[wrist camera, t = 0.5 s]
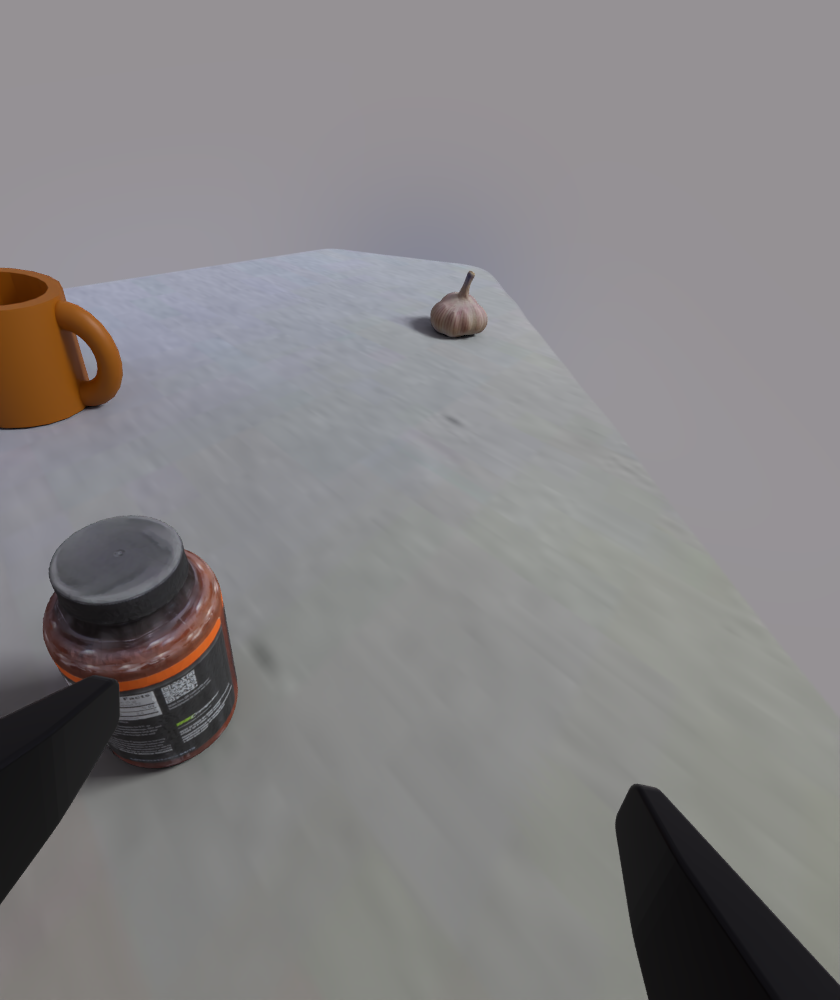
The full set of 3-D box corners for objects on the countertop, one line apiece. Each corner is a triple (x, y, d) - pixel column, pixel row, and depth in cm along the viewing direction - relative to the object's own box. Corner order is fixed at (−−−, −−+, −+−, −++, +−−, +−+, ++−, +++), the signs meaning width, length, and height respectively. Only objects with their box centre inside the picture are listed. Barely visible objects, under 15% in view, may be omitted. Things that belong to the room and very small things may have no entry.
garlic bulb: (487, 330, 69) (502, 270, 63) (477, 349, 63) (493, 285, 58) (435, 316, 69) (446, 256, 64) (421, 334, 64) (432, 270, 59)
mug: (86, 449, 37) (46, 333, 31) (-71, 415, 37) (-140, 293, 31) (151, 393, 44) (129, 290, 38) (19, 365, 44) (-24, 257, 38)
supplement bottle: (160, 638, 26) (108, 476, 19) (261, 675, 26) (247, 522, 19) (71, 746, 22) (-42, 588, 15) (191, 794, 21) (135, 653, 14)
